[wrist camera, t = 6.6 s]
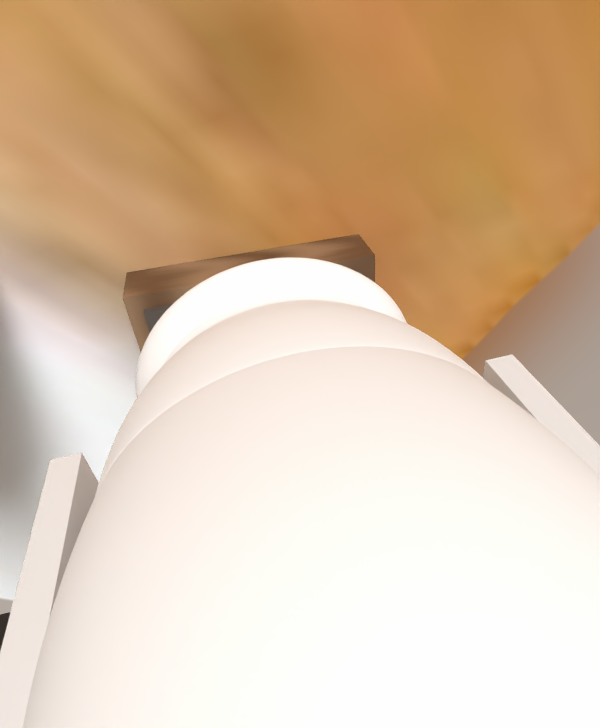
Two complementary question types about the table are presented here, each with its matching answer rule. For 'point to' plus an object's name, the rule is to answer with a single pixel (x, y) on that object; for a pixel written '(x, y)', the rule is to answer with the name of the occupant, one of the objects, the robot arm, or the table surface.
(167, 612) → the jar
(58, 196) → the table surface
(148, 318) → the plinth
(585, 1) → the table surface
